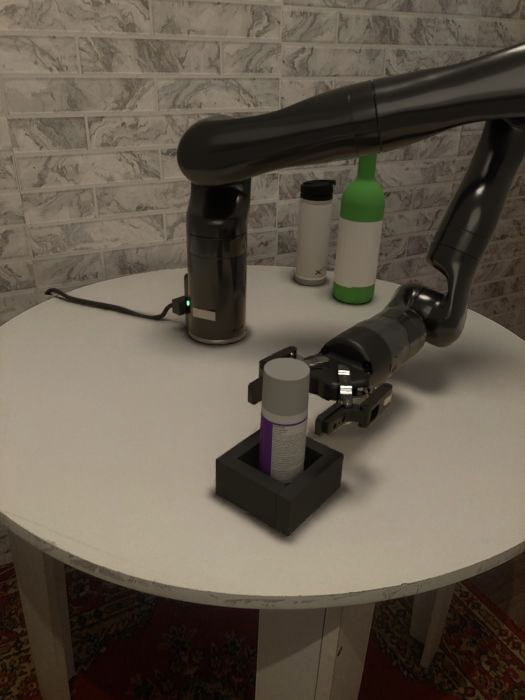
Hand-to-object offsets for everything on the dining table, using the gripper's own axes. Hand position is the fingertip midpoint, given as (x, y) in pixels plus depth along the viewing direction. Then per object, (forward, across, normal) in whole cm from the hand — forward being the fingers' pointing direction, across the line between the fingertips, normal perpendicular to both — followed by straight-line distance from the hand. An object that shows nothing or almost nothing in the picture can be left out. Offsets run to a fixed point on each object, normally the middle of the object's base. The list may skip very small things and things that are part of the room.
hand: (282, 411), depth 60 cm
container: (0, 0, +10) cm, 10 cm away
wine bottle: (-52, -23, +10) cm, 58 cm away
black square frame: (0, 0, +10) cm, 10 cm away
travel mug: (-54, -34, +10) cm, 64 cm away
